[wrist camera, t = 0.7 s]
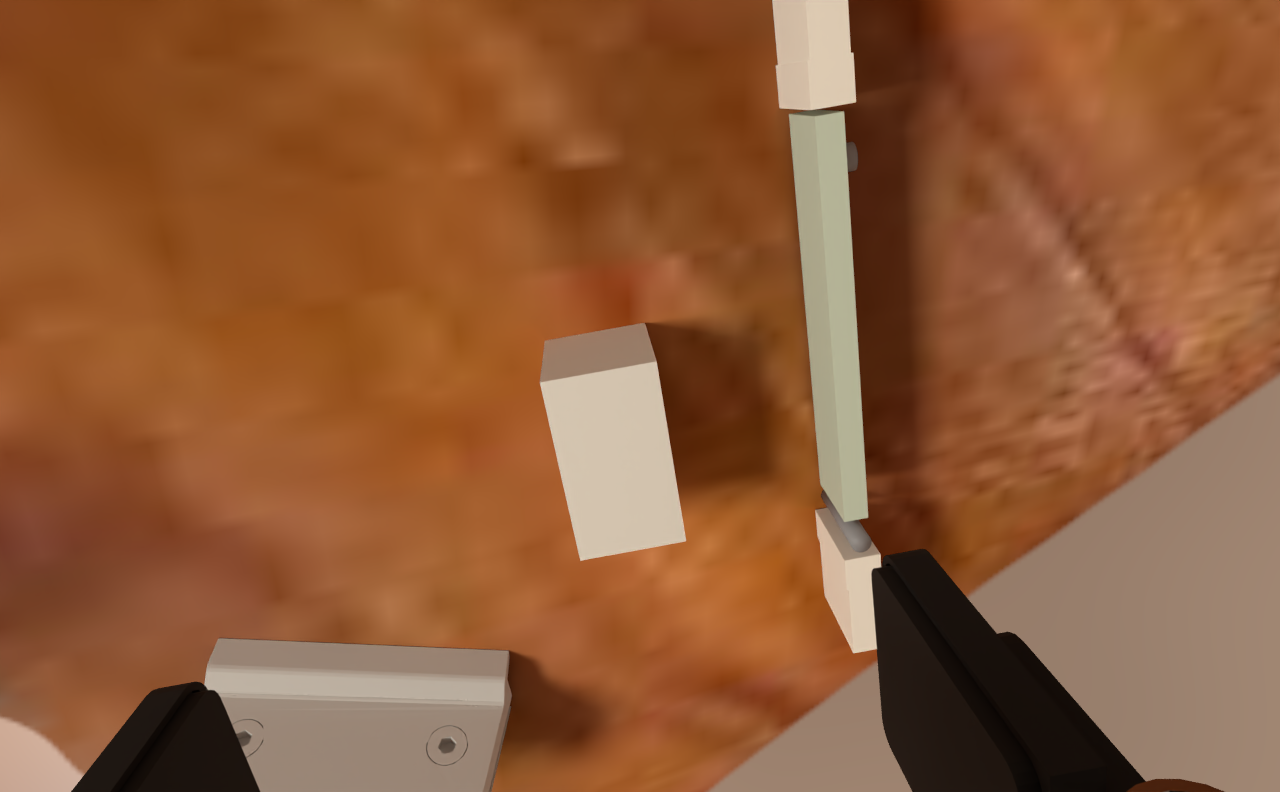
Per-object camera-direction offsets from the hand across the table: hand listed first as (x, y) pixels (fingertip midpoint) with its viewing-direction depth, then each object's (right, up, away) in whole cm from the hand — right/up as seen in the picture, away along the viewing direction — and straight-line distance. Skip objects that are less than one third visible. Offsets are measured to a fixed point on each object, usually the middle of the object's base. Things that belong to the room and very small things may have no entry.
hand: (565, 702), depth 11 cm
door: (+10, +8, +28) cm, 31 cm away
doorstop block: (0, +3, +29) cm, 29 cm away
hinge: (-15, -13, +34) cm, 40 cm away
